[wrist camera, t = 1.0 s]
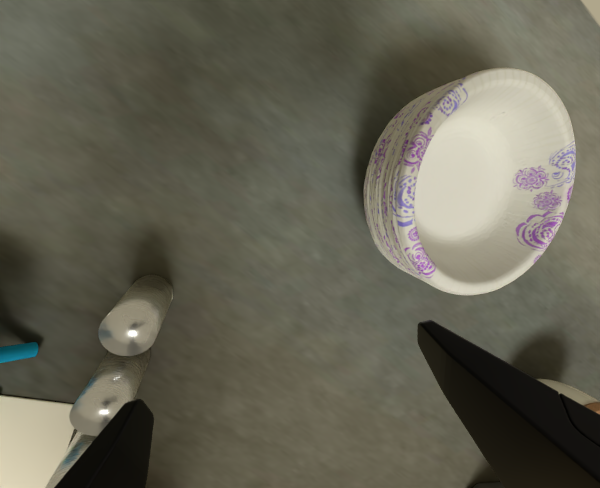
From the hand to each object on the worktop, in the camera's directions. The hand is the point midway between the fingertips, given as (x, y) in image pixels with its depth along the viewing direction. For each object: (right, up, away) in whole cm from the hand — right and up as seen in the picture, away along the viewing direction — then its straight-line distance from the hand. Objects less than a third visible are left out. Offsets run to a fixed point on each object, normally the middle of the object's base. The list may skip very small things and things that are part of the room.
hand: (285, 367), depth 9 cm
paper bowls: (+12, +9, +17) cm, 23 cm away
